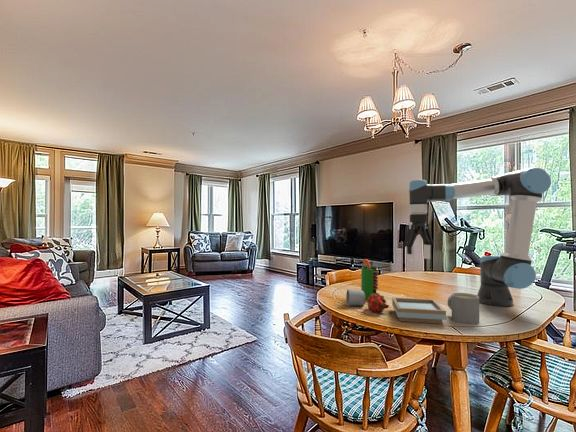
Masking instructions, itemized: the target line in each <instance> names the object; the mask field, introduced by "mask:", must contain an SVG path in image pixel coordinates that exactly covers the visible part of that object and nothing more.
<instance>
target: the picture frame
mask: <svg viewBox="0 0 576 432" xmlns="http://www.w3.org/2000/svg"><path fill="white" fill-rule="evenodd" d="M391 298H392V299H391V300H392V302H391V304H392V305H391V306H392V307H393V310H394V312H395V314H396V316H397V317H398V321H400V322H410V323H411V322H412V323H428V324H429V323H430V324H443V321H446V320H447V310H446V309H445V308H444V307H443V306H441V304H440V303H439V302H438V301H437V300H436V299H435V298H416V297H415V298H414V297H413V298H412V297H391Z"/></svg>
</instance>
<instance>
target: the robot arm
mask: <svg viewBox="0 0 576 432" xmlns="http://www.w3.org/2000/svg"><path fill="white" fill-rule="evenodd" d="M551 184H552V179H551V176H550V174H549V173H547V171H546V170H545V169H543V168H540V167H537V166H536V167H526V168H523V169H518V170H514V171H511V172H507V173H504V174H500V175H495V176H490V177H489V178H488V179H481V180H473V181H466V182H457V183H456V182H455V183H439V184H434V183H433V184H430V183H428V181H427V180H426V179H413V180H411V181H409V186H408V187H409V189H408V194H409V195H408V196H409V197H408V198H409V214H410V215H409V223H411V224H407V230H406V235H405V237H404V241H403V246H404V247H406V253H407V254H406V257H407V259H406V260H407V262H411V263H413V262H414V261H415V255H414V254H415V253H414V252H415V250H414V249H415V248H414V243H415V241H416V239H417V237H418V236H420V237H421V239H422V241H423V243H424V244H423V259H425V260H431V246H433V242H434V240H433V238H432V237H433V236H432V234H431V231H430V230H431V229H430V225H429V223H427V222H428V214H427V213H428V203H432V202H433V203H434V202H439V201H442V202H443V201H445V202H446V201H453V200H456V199H463V198H474V197H481V196H482V197H483V196H488V195H489V196H491V197H496V196H509V198H510V199H511V200H512V205H511V206H512V207H511V212H510V217H509V218H510V219H509V223H508V224H509V225H508V232H507V237H506V242H505V243H506V244H505V248H504V250H505V251H504V252H503V253H500V255H483V256H481V257H480V260H479V261H480V262H479V266H480V269H479V270H480V285H479V288H478V291H477V294H476V295H477V296H479V303H480V304H484V305H490V306H496V307H510V306H511V307H512V306H513V305H514V299H513V298H514V297H513V296H512V293H511V290H510V288H511V289H516V290H517V289H518V290H522V289H527V288H528V287H531V286H532V285H533V283H534V282H535V280H536V277H537V273H536V270H535V269H534V266H532V262H533V261H532V259H531V257H530V256H529V252H530V248H531V247H530V246H531V240H532V235H533V228H534V223H535V222H534V221H535V216H536V209H537V203H539V202H540V201H542V199H543V194H544V193H545V192H547V191H548V190H549V189H550V187H551Z"/></svg>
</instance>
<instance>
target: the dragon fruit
mask: <svg viewBox="0 0 576 432" xmlns="http://www.w3.org/2000/svg"><path fill="white" fill-rule="evenodd" d="M366 302H367V307H368V308H367V309H368V310H371V311H373V313H375V314H379V311H380V312H384V311H385V309H388V308H389V307H390V304H388V302H387V300H386V299H385V297H384V295H381V294H380V293H378V292H376V293H373V294H371V295H370V296H369V298H368V300H367V299H366Z"/></svg>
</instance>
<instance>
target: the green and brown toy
mask: <svg viewBox="0 0 576 432" xmlns="http://www.w3.org/2000/svg"><path fill="white" fill-rule="evenodd" d="M362 264H365V265H367V266H362V267H361V278H360V281H361V282H360V284H361V287H360V288H361V289H360V290H361V291H364V293H365V300H366V301H367V300H368V298H369V296H370V295H371V294H373V293H377V290H378V289H379V287H378V285H379V270H377V269H378V268H377V266H371V264H370V260H369V259H363V260H362Z"/></svg>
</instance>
